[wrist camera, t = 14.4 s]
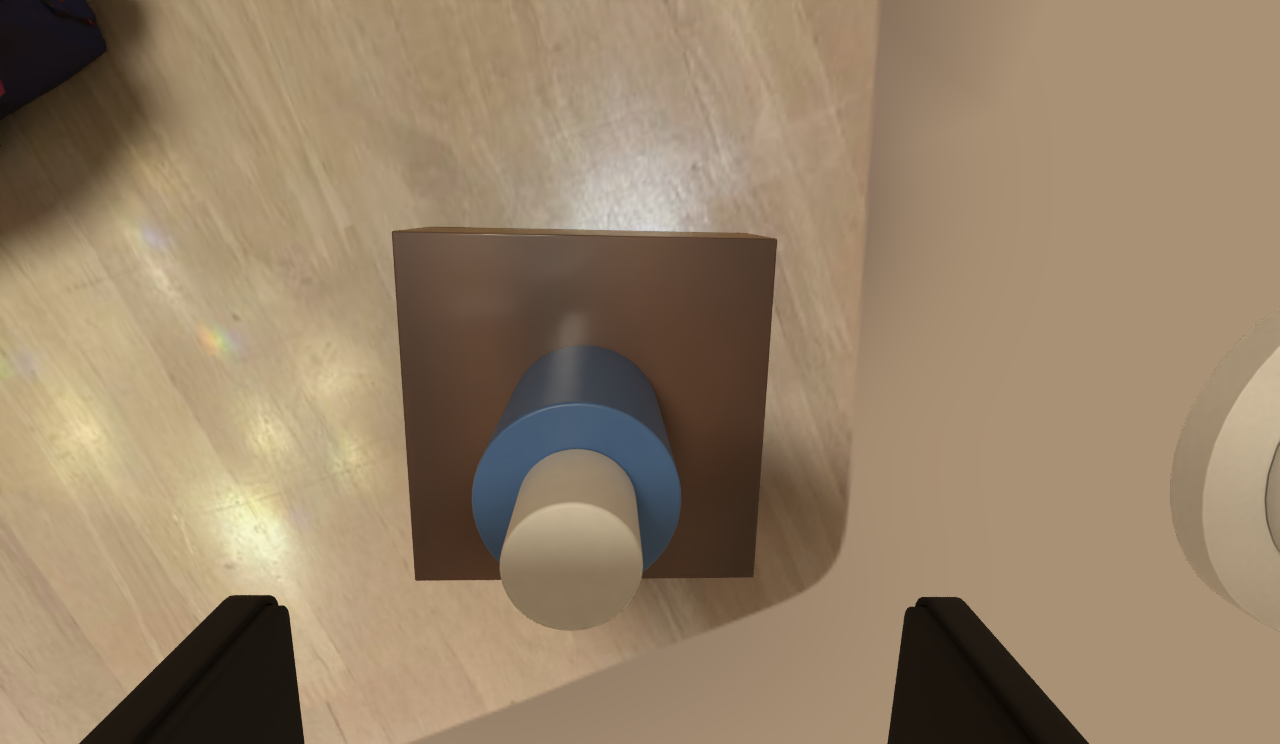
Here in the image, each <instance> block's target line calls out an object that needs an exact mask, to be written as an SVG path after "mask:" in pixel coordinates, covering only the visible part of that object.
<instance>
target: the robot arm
mask: <svg viewBox="0 0 1280 744" xmlns="http://www.w3.org/2000/svg"><path fill="white" fill-rule="evenodd" d="M1266 505H1267V517H1268V524H1269V527H1270V530H1271V533H1272V536H1273V539H1274V542H1275V544H1276V546H1277V547H1278V549H1279V550H1280V445H1279V447H1278V449H1277V451H1276V454H1275V457H1274V460H1273V463H1272V467H1271V470H1270V473H1269V479H1268V487H1267V495H1266ZM79 744H304V735H303V727H302V718H301V710H300V702H299V693H298V685H297V676H296V668H295V659H294V651H293V642H292V634H291V626H290V617H289V612H288V609H287V608H286V607H285V606H278V602H277V600H276V599H275V597H273V596H271V595H233V596H229V597H228V598H226V599H225V600H224V601H223V602H222V603H221V604H220V605H219V606H218V607H217V608H216V609H215V610H214V611H213V612H212V613H211V614H210V615H209V616H208V617H207V618H206V619H205V620H204V621H203V622H202V623H201V624H200V625H199V626H197V627H196V628H195V629H194V630H193V631H192V632H191V633H190V634H189V635H188V636H187V637H186V638H185V639H184V640H183V641H182V642H181V643H180V644H179V645H178V646H177V647H176V648H175V649H174V650H173V651H172V652H171V653H170V654H169V655H168V656H167V657H166V658H165V659H164V660H163V661H162V662H161V663H160V664H159V665H158V666H157V667H156V668H155V669H154V670H153V671H152V672H151V673H150V674H149V675H148V676H147V677H146V678H145V679H144V680H143V681H142V682H141V683H140V684H139V685H138V686H137V687H136V688H135V689H134V690H133V691H132V692H131V693H130V694H129V695H128V696H127V697H126V698H125V699H124V700H123V701H122V702H121V703H120V704H119V705H118V706H117V707H116V708H115V709H114V710H113V711H112V712H111V713H110V714H109V715H108V716H107V717H106V718H105V719H104V720H103V721H101V722H100V723H99V724H98V725H97V726H96V727H95V728H94V729H93V730H92V731H91V732H90V733H89V734H88V735H87V736H86V737H85V738H84V739H83V740H82V741H81V742H80V743H79ZM888 744H1089V743H1088V742H1087V741H1086V740H1085V739H1084V737H1083V736H1082V735H1081V734H1080V733H1079V732H1078V731H1077V729H1075V727H1074V726H1073V725H1072V724H1071V723H1070V721H1069V720H1068V719H1067V718H1066V717H1065V716H1064V715H1063V714H1062V712H1061V711H1060V710H1059V709H1058V708H1057V707H1056V705H1055V704H1054V703H1053V702H1052V701H1051V700H1050V699H1049V698H1048V696H1047V695H1046V694H1045V693H1044V692H1043V691H1042V690H1041V688H1040V687H1039V686H1038V685H1037V684H1036V683H1035V681H1034V680H1033V679H1032V678H1031V677H1030V676H1029V675H1028V674H1027V672H1026V671H1025V670H1024V669H1023V668H1022V667H1021V666H1020V665H1019V663H1018V662H1017V661H1016V660H1015V659H1014V658H1013V656H1012V655H1011V654H1010V653H1009V652H1008V651H1007V650H1006V648H1005V647H1004V646H1003V645H1002V644H1001V643H1000V642H999V640H998V639H997V638H996V637H995V636H994V635H993V634H992V632H991V631H990V630H989V629H988V628H987V627H986V626H985V624H984V623H983V622H982V621H981V620H980V619H979V618H978V616H977V615H976V614H975V613H974V612H973V611H972V610H971V609H970V607H969V606H968V605H967V604H966V603H965V602H964V601H963V600H962V599H960V598H957V597H921V598H919V599H918V601H917V602H916V605H915V607H909V608H907V610H906V612H905V616H904V624H903V631H902V639H901V646H900V654H899V661H898V669H897V676H896V684H895V692H894V700H893V707H892V714H891V722H890V729H889V737H888Z"/></svg>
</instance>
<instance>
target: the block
mask: <svg viewBox="0 0 1280 744" xmlns="http://www.w3.org/2000/svg"><path fill="white" fill-rule="evenodd" d="M392 241H393V256H394V271H395V285H396V300H397V315H398V330H399V345H400V360H401V375H402V390H403V405H404V420H405V435H406V450H407V465H408V479H409V494H410V509H411V524H412V539H413V554H414V569H415V580H416V581H420V580H501V576H500V563H499V562H498V561H497V560H496V559H495V558H494V557H493V555H492V554H491V553H490V552H489V550H488V549H487V547H486V545H485V544H484V542H483V540H482V539H481V536H480V534H479V532H478V529H477V527H476V523H475V519H474V515H473V508H472V487H473V481H474V476H475V473H476V470H477V467H478V464H479V462H480V460H481V458H482V456H483V454H484V451H485V449H486V447H487V445H488V443H489V441H490V439H491V437H492V435H493V433H494V431H495V429H496V427H497V425H498V423H499V421H500V418H501V416H502V414H503V412H504V410H505V408H506V406H507V404H508V402H509V400H510V398H511V396H512V394H513V392H514V390H515V388H516V386H517V383H518V382H519V380H520V379H521V377H522V376H523V374H524V373H525V372H526V371H527V370H528V369H529V368H530V367H531V366H532V365H533V364H534V363H535V362H537V361H538V360H539V359H541V358H542V357H544V356H545V355H547V354H550V353H552V352H554V351H556V350H559V349H562V348H566V347H572V346H583V345H586V346H597V347H601V348H606V349H609V350H612V351H614V352H616V353H618V354H620V355H622V356H624V357H626V358H627V359H629V360H630V361H632V362H633V363H634V364H635V365H636V366H637V367H638V368H639V369H640V370H641V371H642V372H643V373H644V374H645V376H646V377H647V379H648V380H649V382H650V383H651V385H652V387H653V389H654V391H655V394H656V397H657V400H658V404H659V407H660V411H661V415H662V418H663V422H664V425H665V429H666V432H667V436H668V440H669V443H670V447H671V450H672V454H673V457H674V461H675V465H676V468H677V472H678V475H679V481H680V486H681V508H680V515H679V519H678V523H677V526H676V529H675V531H674V534H673V536H672V538H671V540H670V542H669V544H668V545H667V547H666V549H665V550H664V551H663V553H662V554H661V555H660V556H659V558H658V559H657V560H656V561H655V562H654V563H653V564H652V565H651V566H650V567H649V568H648V569H647V570H645V571H644V572H643V573H642V578H729V577H753V574H754V560H755V546H756V532H757V518H758V503H759V489H760V475H761V461H762V447H763V432H764V418H765V404H766V390H767V376H768V361H769V347H770V333H771V319H772V304H773V290H774V276H775V262H776V248H777V239H775V238H769V237H764V236H759V235H753V234H748V233H710V232H661V231H612V230H563V229H514V228H465V227H424V228H415V229H407V230H398V231H393V232H392Z"/></svg>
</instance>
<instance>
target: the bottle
mask: <svg viewBox="0 0 1280 744" xmlns="http://www.w3.org/2000/svg"><path fill="white" fill-rule="evenodd" d="M472 508H473V515H474V519H475V523H476V527H477V529H478V532H479V534H480V536H481V539H482V540H483V542H484V544H485V545H486V547H487V549H488V550H489V552H490V553H491V554H492V555H493V557H494V558H495V559H496V560H497V561H498V562H499V563H500V576H501V580H502V584H503V587H504V589H505V591H506V593H507V595H508V597H509V598H510V600H511V602H512V603H513V604H514V605H515V607H516V608H517V609H518V610H519V611H520V612H521V613H523V614H524V615H525V616H527V617H528V618H529V619H531V620H533V621H535V622H536V623H538V624H541V625H543V626H546V627H549V628H553V629H558V630H570V631H573V630H583V629H588V628H592V627H595V626H598V625H601V624H603V623H605V622H607V621H609V620H611V619H612V618H614V617H615V616H616V615H618V614H619V613H620V612H621V611H622V610H623V609H624V608H625V607H626V606H627V605H628V604H629V603H630V601H631V600H632V599H633V597H634V595H635V594H636V592H637V590H638V587H639V585H640V582H641V578H642V573H643V572H644V571H645V570H647V569H648V568H649V567H650V566H651V565H652V564H653V563H654V562H655V561H656V560H657V559H658V558H659V556H660V555H661V554H662V553H663V551H664V550H665V549H666V547H667V545H668V544H669V542H670V540H671V538H672V536H673V534H674V531H675V529H676V526H677V523H678V519H679V515H680V508H681V486H680V481H679V475H678V472H677V468H676V465H675V461H674V457H673V454H672V450H671V447H670V443H669V440H668V436H667V432H666V429H665V425H664V422H663V418H662V415H661V411H660V407H659V404H658V400H657V397H656V394H655V391H654V389H653V387H652V385H651V383H650V382H649V380H648V379H647V377H646V376H645V374H644V373H643V372H642V371H641V370H640V369H639V368H638V367H637V366H636V365H635V364H634V363H633V362H632V361H630V360H629V359H627V358H626V357H624V356H622V355H620V354H618V353H616V352H614V351H612V350H609V349H606V348H601V347H597V346H586V345H583V346H572V347H566V348H562V349H559V350H556V351H554V352H552V353H550V354H547V355H545V356H544V357H542V358H541V359H539V360H538V361H537V362H535V363H534V364H533V365H532V366H531V367H530V368H529V369H528V370H527V371H526V372H525V373H524V374H523V376H522V377H521V379H520V380H519V382H518V383H517V386H516V388H515V390H514V392H513V394H512V396H511V398H510V400H509V402H508V404H507V406H506V408H505V410H504V412H503V414H502V416H501V418H500V421H499V423H498V425H497V427H496V429H495V431H494V433H493V435H492V437H491V439H490V441H489V443H488V445H487V447H486V449H485V451H484V454H483V456H482V458H481V460H480V462H479V464H478V467H477V470H476V473H475V476H474V481H473V487H472Z"/></svg>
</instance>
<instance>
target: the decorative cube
mask: <svg viewBox="0 0 1280 744" xmlns="http://www.w3.org/2000/svg"><path fill="white" fill-rule="evenodd" d="M105 52H106V44H105V40H104V38H103V36H102V34H101V32H100V30H99V28H98V26H97V23H96V18H95V14H94V13H93V11H92V10H91V8H90V7H89V5H88V4H87V2H86V1H85V0H0V120H2V119H3V118H5V117H7V116H8V115H10V114H12V113H14V112H15V111H17V110H18V109H20V108H22V107H23V106H25V105H26V104H28V103H30V102H31V101H33V100H34V99H36V98H38V97H39V96H41V95H43V94H45V93H47V92H48V91H50V90H52V89H53V88H55V87H57V86H58V85H60V84H61V83H63V82H64V81H66V80H68V79H69V78H70V77H72V76H73V75H75V74H76V73H77V72H79V71H80V70H81V69H83V68H84V67H86V66H87V65H88V64H90V63H91V62H92V61H94V60H95V59H96V58H98V57H99V56H101V55H102V54H103V53H105ZM0 146H1V145H0Z"/></svg>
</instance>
